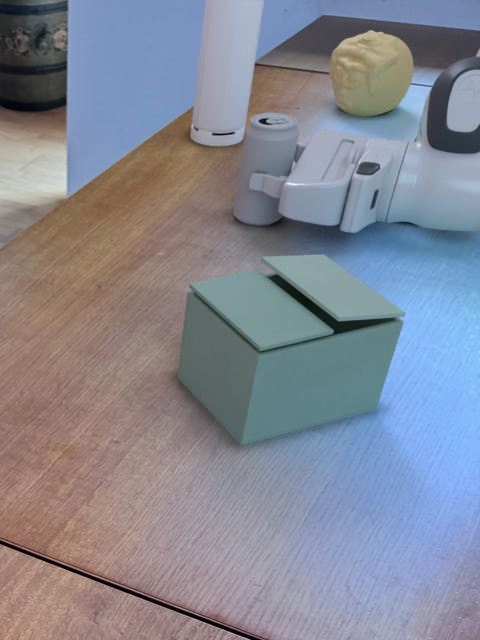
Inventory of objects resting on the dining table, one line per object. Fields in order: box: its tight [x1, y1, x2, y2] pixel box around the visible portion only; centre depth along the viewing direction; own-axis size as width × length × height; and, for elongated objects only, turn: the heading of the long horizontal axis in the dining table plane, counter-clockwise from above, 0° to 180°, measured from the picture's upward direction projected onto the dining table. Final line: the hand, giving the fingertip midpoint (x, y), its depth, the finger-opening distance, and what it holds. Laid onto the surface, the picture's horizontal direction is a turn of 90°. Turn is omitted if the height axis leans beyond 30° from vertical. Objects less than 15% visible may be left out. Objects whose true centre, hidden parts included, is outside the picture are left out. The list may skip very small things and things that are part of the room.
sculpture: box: [328, 29, 414, 117], centre depth 142 cm, size 12×12×11 cm
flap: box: [260, 253, 407, 321], centre depth 85 cm, size 7×13×1 cm, turn 20°
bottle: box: [189, 0, 265, 147], centre depth 129 cm, size 8×8×28 cm
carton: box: [176, 268, 405, 446], centre depth 88 cm, size 15×13×10 cm
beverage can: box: [232, 112, 300, 227], centre depth 115 cm, size 6×6×12 cm
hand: (259, 165), depth 115 cm, fingers open, 8 cm apart
